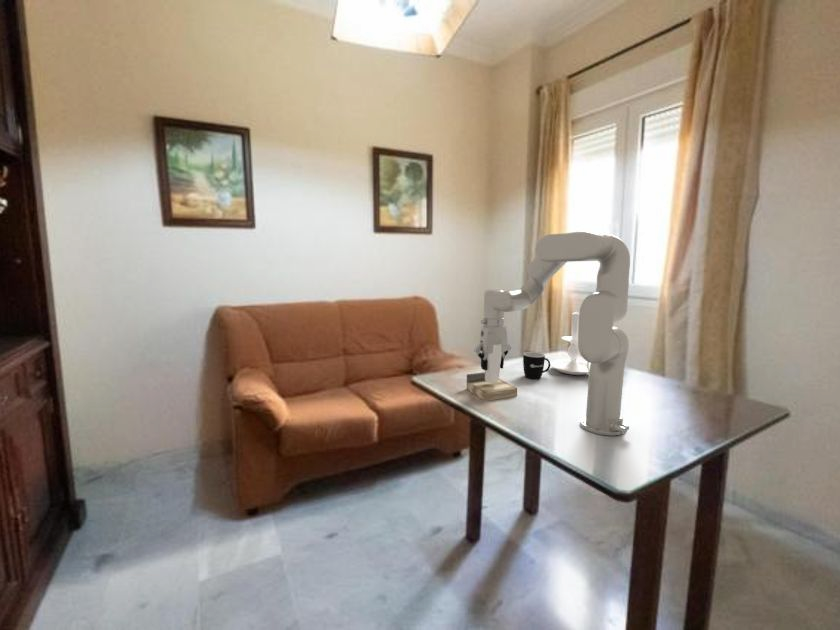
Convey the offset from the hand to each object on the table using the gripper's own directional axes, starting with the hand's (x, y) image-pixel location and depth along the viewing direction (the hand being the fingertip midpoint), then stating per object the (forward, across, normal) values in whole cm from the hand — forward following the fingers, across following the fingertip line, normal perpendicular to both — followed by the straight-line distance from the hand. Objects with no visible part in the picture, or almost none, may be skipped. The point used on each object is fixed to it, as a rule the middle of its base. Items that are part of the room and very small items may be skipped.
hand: (492, 368), depth 155 cm
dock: (+10, 0, 0) cm, 10 cm away
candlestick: (+10, +49, +8) cm, 51 cm away
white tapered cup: (+5, 0, 0) cm, 5 cm away
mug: (+10, +29, +10) cm, 32 cm away
